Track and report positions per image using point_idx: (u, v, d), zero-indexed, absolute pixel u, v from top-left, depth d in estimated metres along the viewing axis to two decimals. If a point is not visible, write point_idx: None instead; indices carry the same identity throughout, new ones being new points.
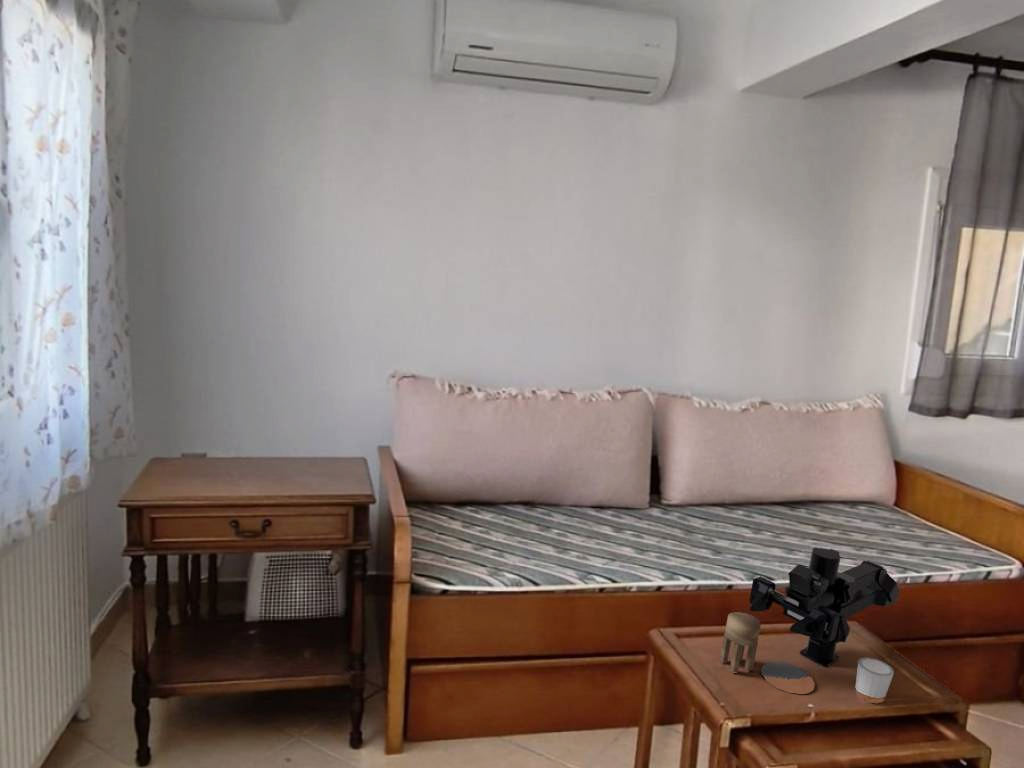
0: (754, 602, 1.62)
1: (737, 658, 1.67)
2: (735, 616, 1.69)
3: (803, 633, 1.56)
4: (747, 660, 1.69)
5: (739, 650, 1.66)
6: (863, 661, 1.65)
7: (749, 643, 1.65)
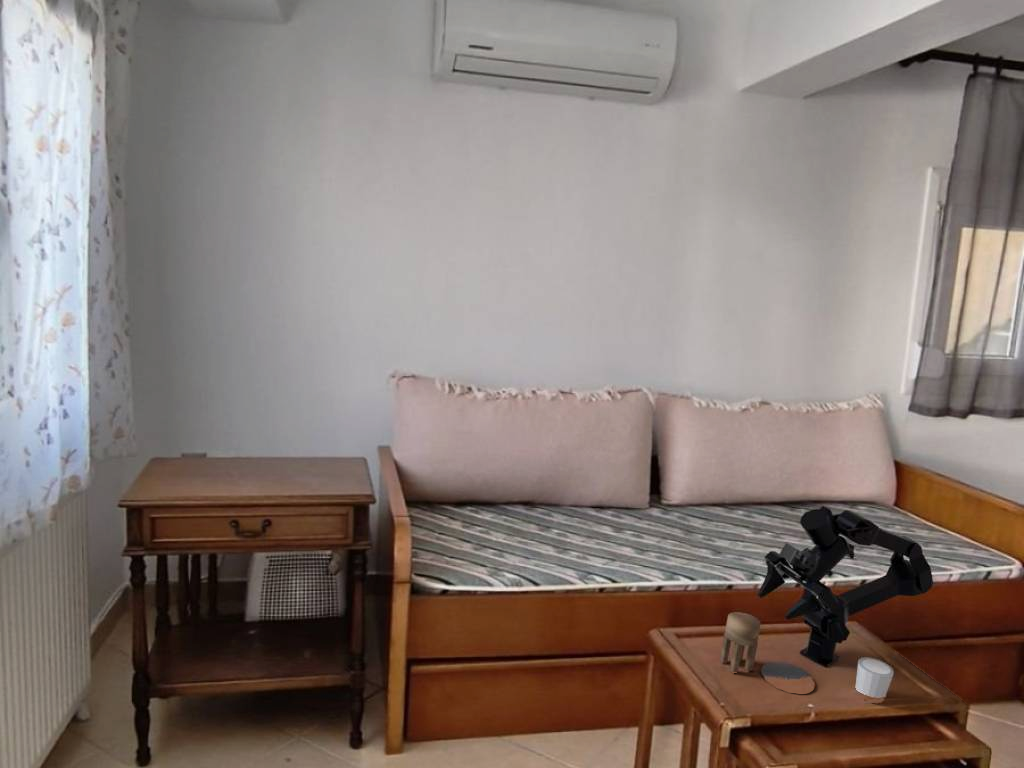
0: (761, 589, 1.74)
1: (737, 658, 1.67)
2: (735, 616, 1.69)
3: (803, 613, 1.65)
4: (747, 660, 1.69)
5: (739, 650, 1.66)
6: (863, 661, 1.65)
7: (749, 643, 1.65)
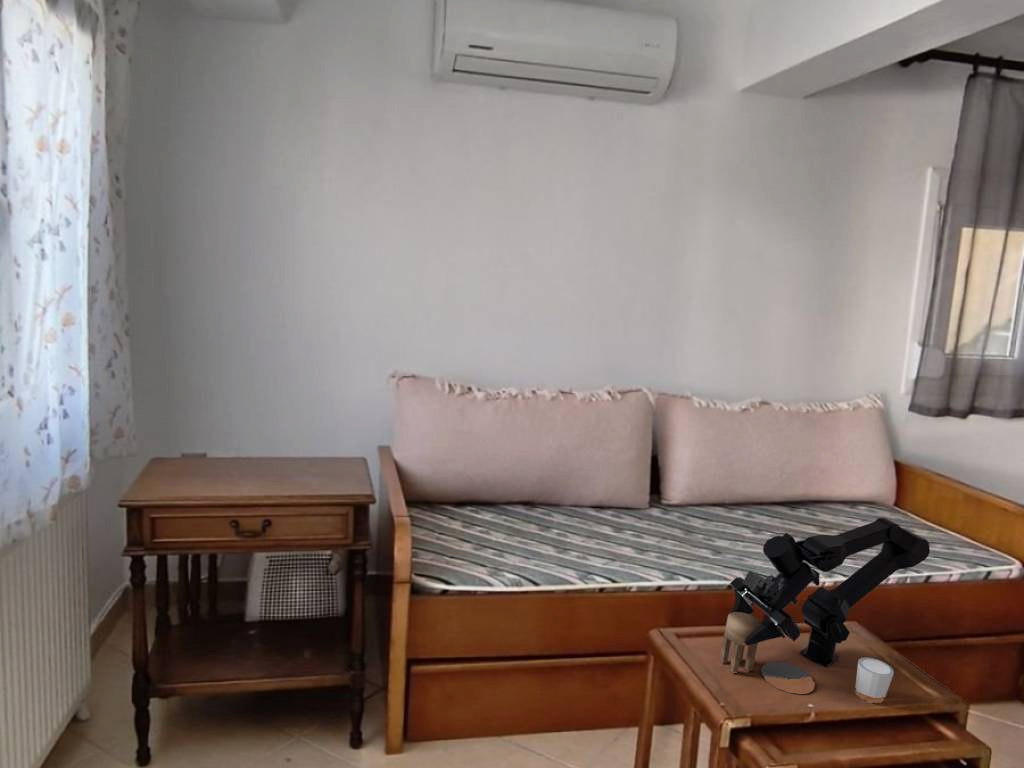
0: None
1: (737, 658, 1.67)
2: (734, 616, 1.69)
3: (763, 640, 1.65)
4: (747, 660, 1.69)
5: (739, 650, 1.66)
6: (863, 661, 1.65)
7: None
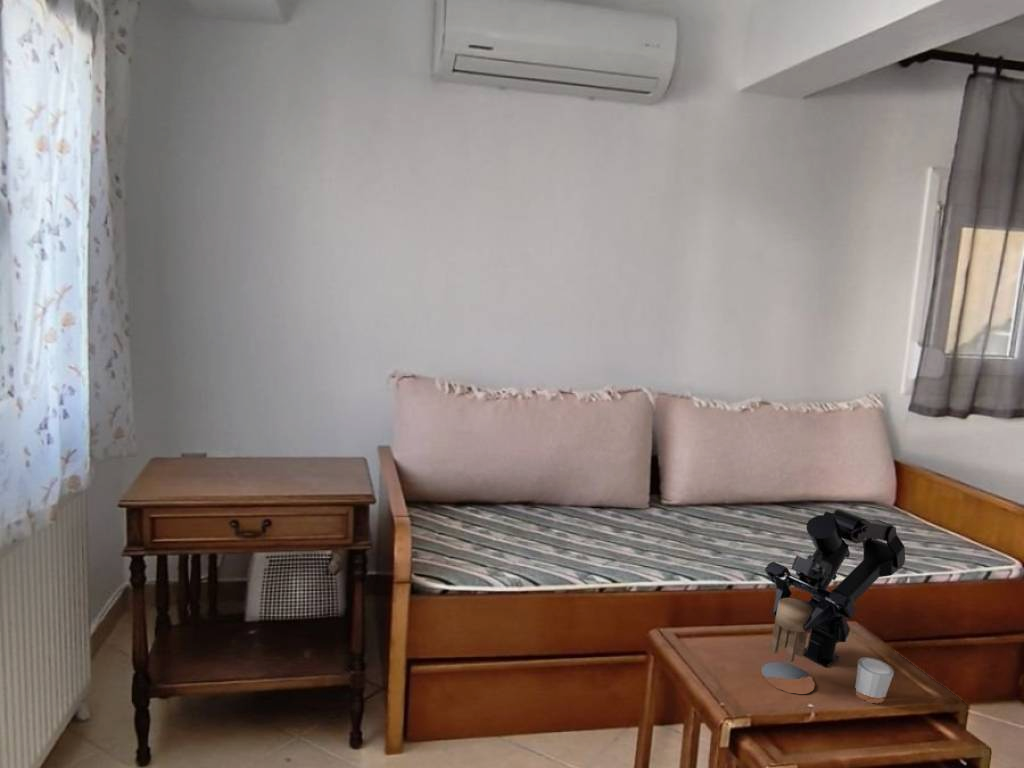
0: (775, 606, 1.67)
1: (795, 646, 1.63)
2: (785, 604, 1.64)
3: (819, 622, 1.62)
4: (799, 645, 1.66)
5: (797, 637, 1.62)
6: (863, 661, 1.65)
7: None
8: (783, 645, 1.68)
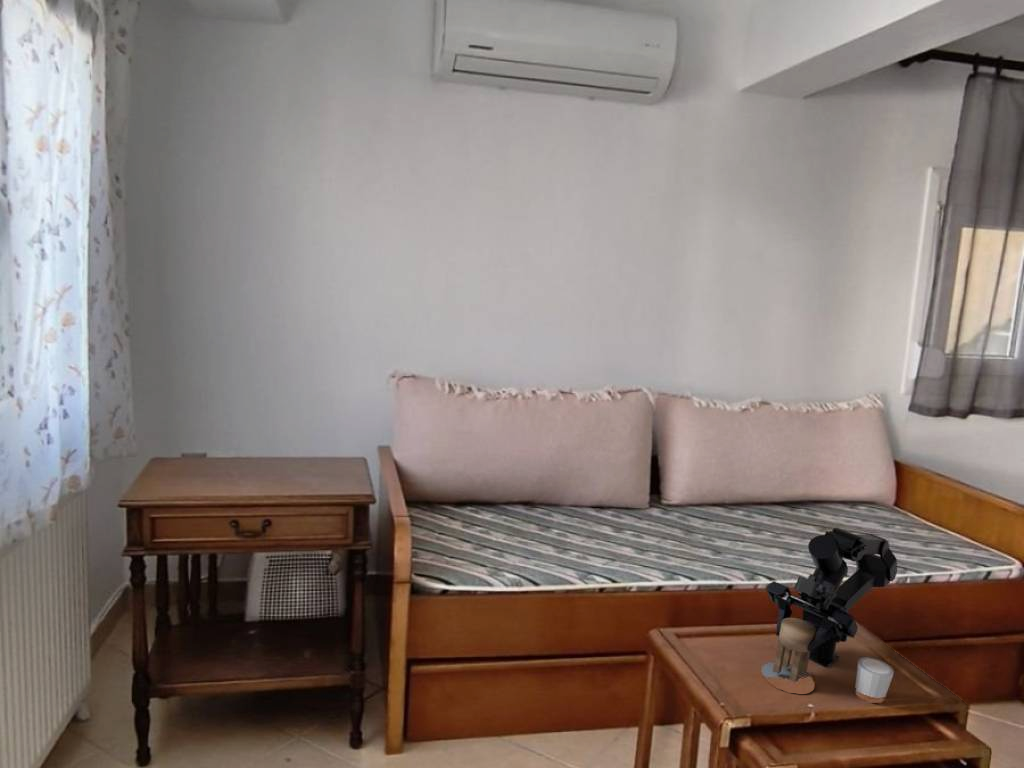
0: (778, 626, 1.67)
1: (799, 666, 1.63)
2: (788, 624, 1.65)
3: (822, 642, 1.63)
4: (802, 664, 1.66)
5: (801, 657, 1.63)
6: (863, 661, 1.65)
7: None
8: (785, 665, 1.69)
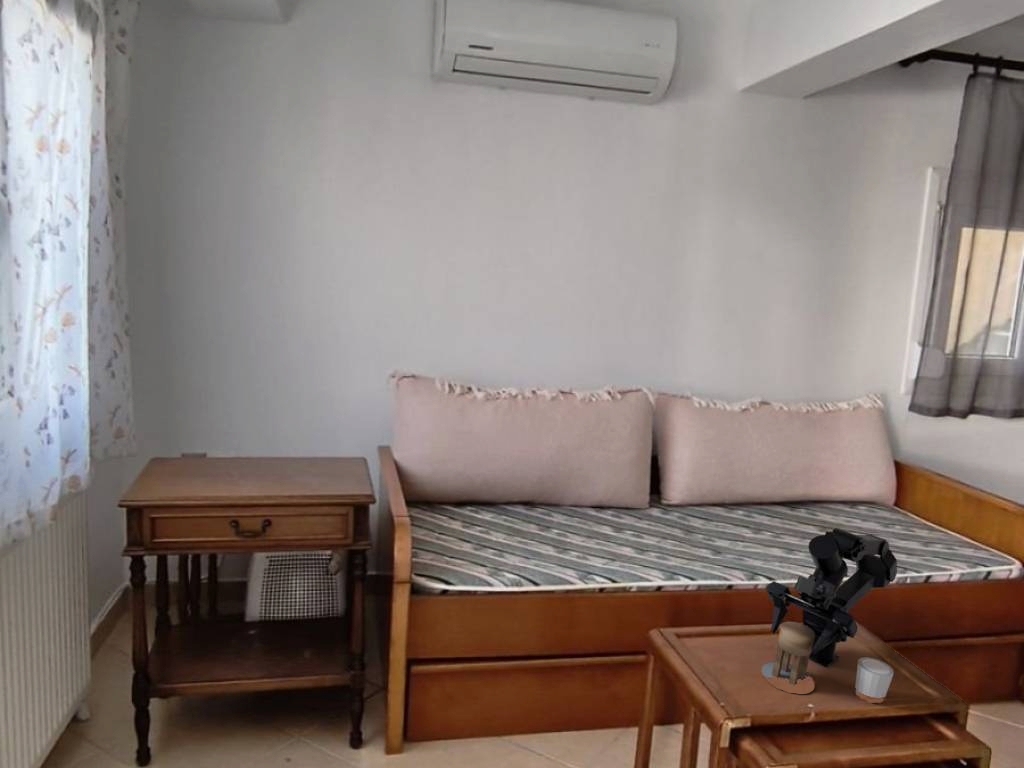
0: (773, 624, 1.68)
1: (798, 670, 1.64)
2: (788, 628, 1.65)
3: (826, 644, 1.63)
4: (801, 668, 1.67)
5: (800, 661, 1.63)
6: (863, 661, 1.65)
7: (809, 652, 1.63)
8: (784, 669, 1.69)
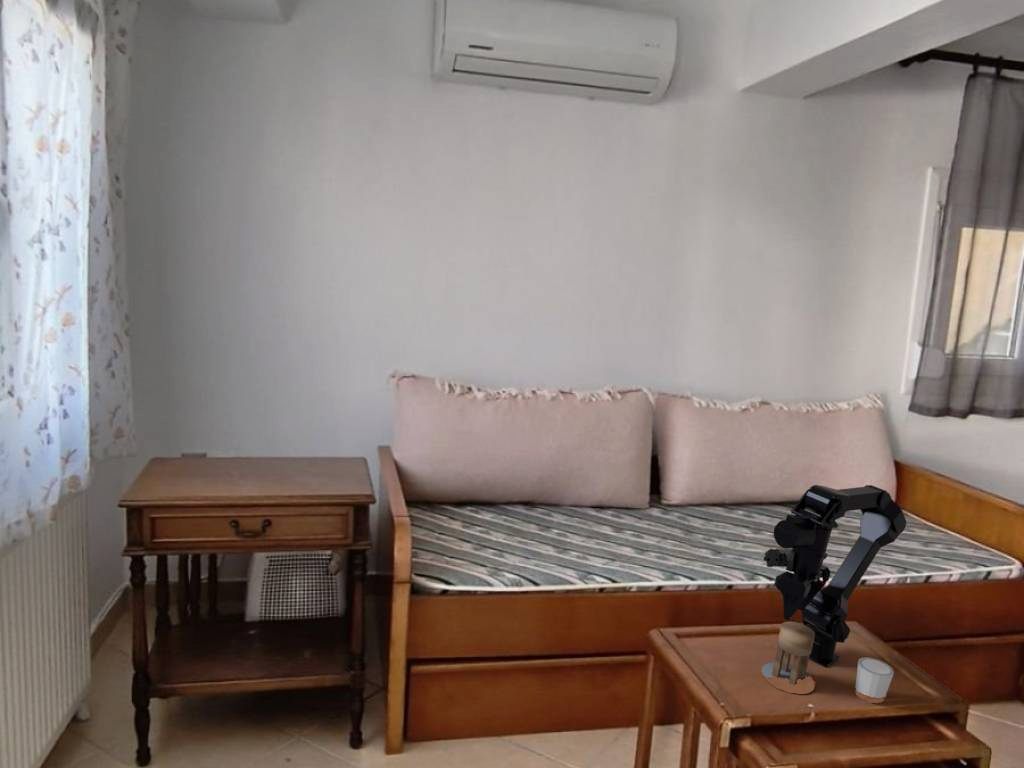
0: None
1: (798, 670, 1.64)
2: (788, 628, 1.65)
3: (794, 609, 1.62)
4: (801, 668, 1.67)
5: (800, 661, 1.63)
6: (863, 661, 1.65)
7: (809, 652, 1.63)
8: (784, 669, 1.69)
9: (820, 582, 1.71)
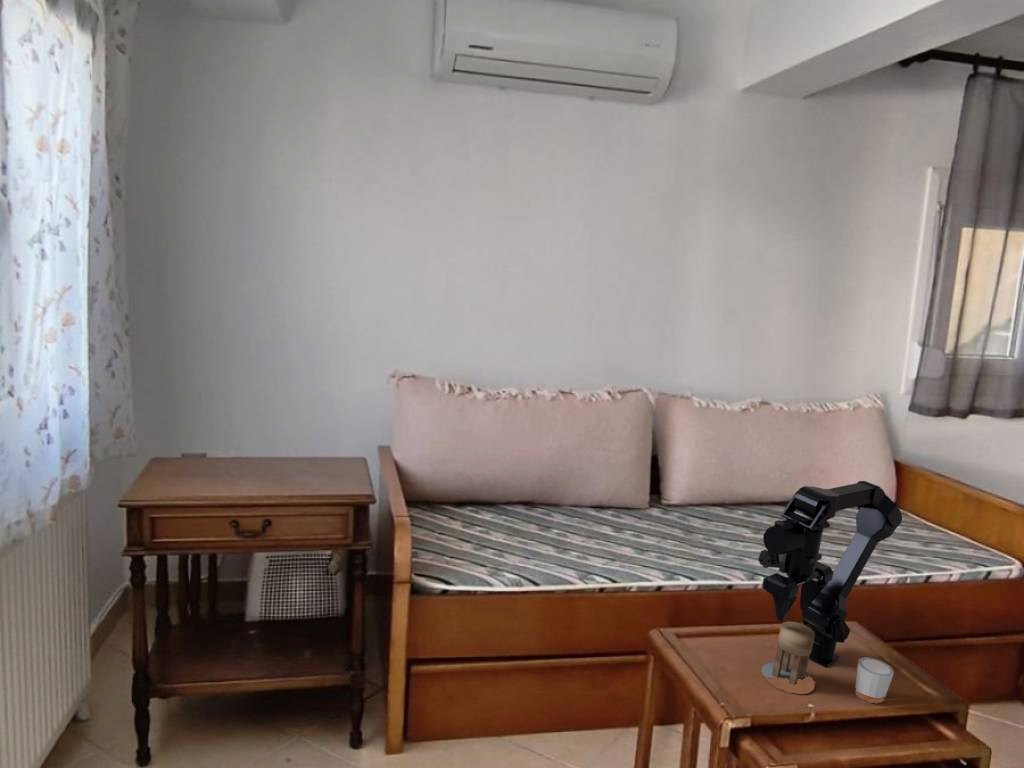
0: None
1: (798, 670, 1.64)
2: (788, 628, 1.65)
3: (785, 610, 1.63)
4: (801, 668, 1.67)
5: (800, 661, 1.63)
6: (863, 661, 1.65)
7: (809, 652, 1.63)
8: (784, 669, 1.69)
9: (821, 582, 1.69)
